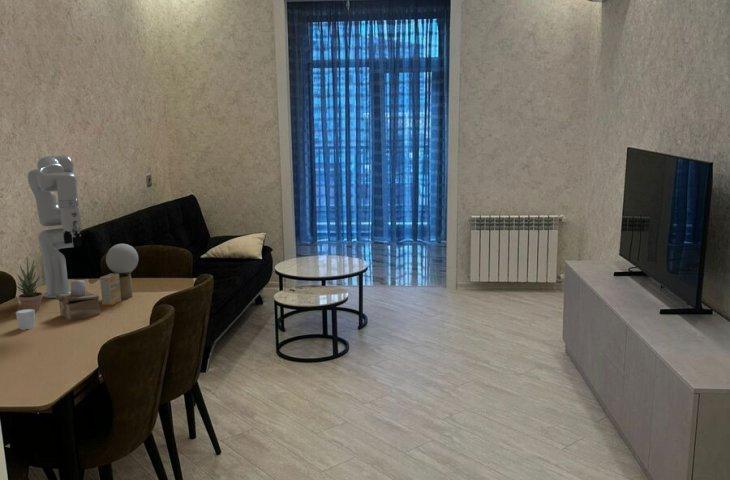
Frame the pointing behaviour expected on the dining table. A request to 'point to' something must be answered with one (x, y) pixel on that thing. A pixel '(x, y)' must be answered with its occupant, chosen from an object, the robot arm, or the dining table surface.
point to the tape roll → (78, 288)
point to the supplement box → (110, 289)
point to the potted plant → (29, 290)
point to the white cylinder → (26, 318)
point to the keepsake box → (80, 309)
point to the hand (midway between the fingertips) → (72, 244)
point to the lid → (67, 297)
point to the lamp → (123, 266)
